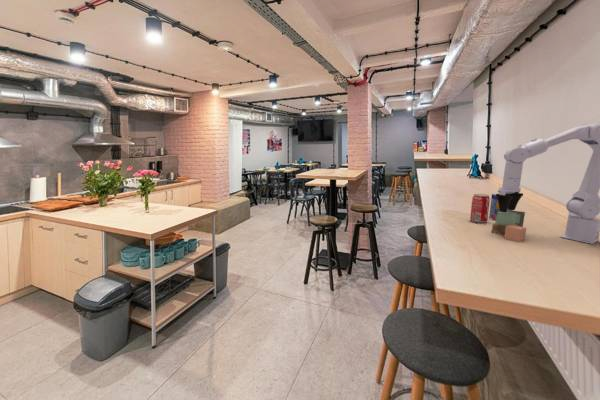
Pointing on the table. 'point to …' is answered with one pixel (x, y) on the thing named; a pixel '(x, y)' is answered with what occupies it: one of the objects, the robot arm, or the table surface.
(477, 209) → the soda can
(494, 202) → the ink cartridge box
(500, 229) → the walnut block
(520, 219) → the board
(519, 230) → the terracotta block
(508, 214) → the green block
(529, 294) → the table surface
